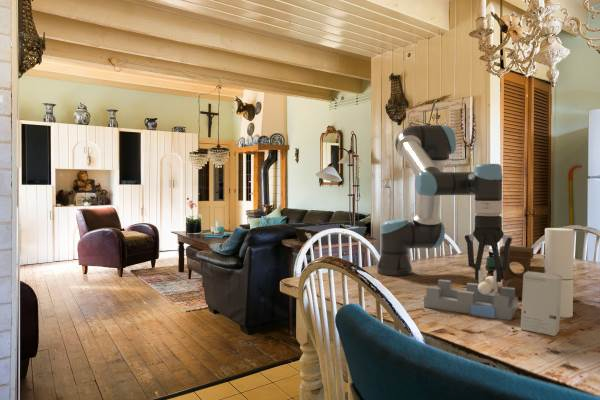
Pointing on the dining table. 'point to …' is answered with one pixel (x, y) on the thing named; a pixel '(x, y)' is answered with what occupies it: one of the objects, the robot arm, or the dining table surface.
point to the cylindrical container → (561, 263)
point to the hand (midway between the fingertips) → (488, 291)
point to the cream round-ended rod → (486, 285)
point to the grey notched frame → (472, 300)
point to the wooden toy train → (524, 258)
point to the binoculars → (491, 264)
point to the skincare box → (541, 303)
